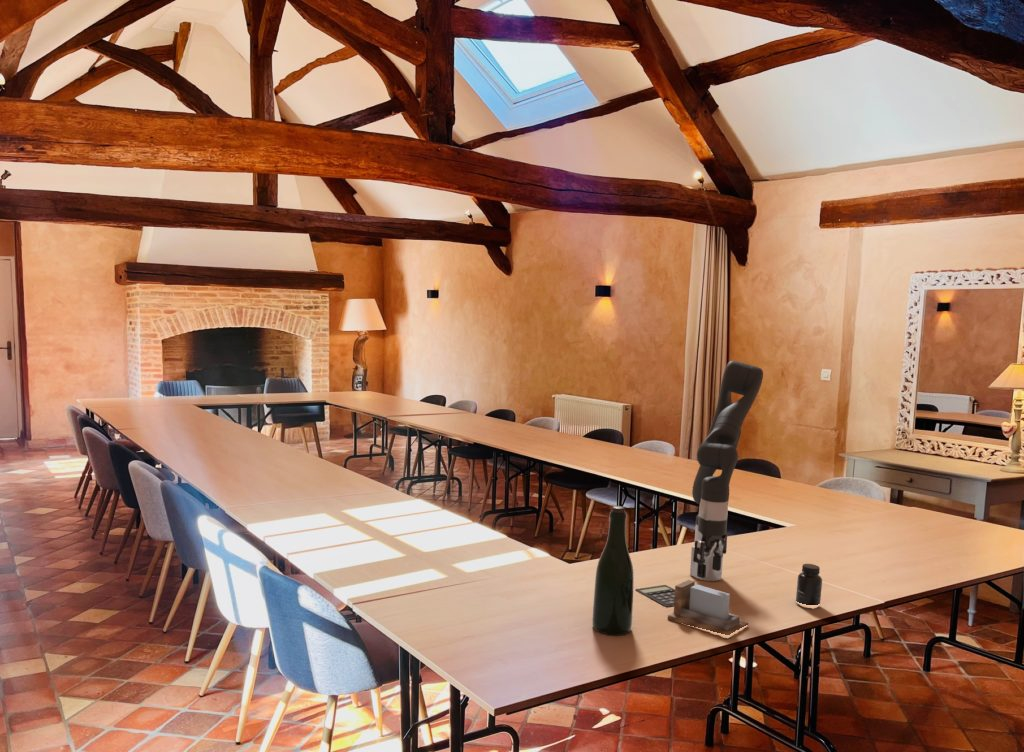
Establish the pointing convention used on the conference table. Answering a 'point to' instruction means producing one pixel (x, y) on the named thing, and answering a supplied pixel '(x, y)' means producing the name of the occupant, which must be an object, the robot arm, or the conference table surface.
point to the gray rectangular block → (709, 602)
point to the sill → (698, 619)
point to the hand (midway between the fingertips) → (708, 573)
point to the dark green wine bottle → (614, 580)
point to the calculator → (659, 594)
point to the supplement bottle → (809, 585)
